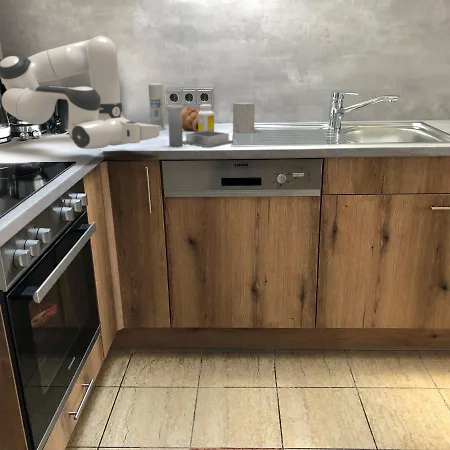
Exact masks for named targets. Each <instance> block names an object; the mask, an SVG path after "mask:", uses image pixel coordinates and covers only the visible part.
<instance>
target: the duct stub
mask: <svg viewBox="0 0 450 450" xmlns="http://www.w3.org/2000/svg"><path fill="white" fill-rule="evenodd" d="M166 108H167V113H168V114H167V115H168V116H167V118H168V119H167V120H168V121H167V122H168V138H169V139H168V140H169V143H168V144H169V147H171V148H181V146H182V147H183V146H184V144H183V141H184V140H183V129H182V109H183V105H182V104H179V103H178V104H177V103H175V104H167V106H166Z"/></svg>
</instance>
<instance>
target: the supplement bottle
mask: <svg viewBox="0 0 450 450" xmlns="http://www.w3.org/2000/svg"><path fill="white" fill-rule="evenodd" d="M199 108H200V109H199V110H200V111H199V112H198V132H201V131H214V132H215V112H214V111H212V104H210V103H209V104H208V103H207V104H204V103H203V104H200V105H199Z"/></svg>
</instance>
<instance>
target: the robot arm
mask: <svg viewBox="0 0 450 450" xmlns="http://www.w3.org/2000/svg"><path fill="white" fill-rule="evenodd" d="M118 65H119V63H118V48H117V46H116V44H115V42H114V41H113V40H112V39H111V38H109V37H108V36H104V35H98V36H93V38H91V39H87V40H83V41H77V42H74V43H73V42H72V43H69V44H66V45H63V46H58V47H55V48H51V49H50V48H49V49H47V50H43V51H40V52H37V53H35V54H33V55H30V56H29V57H23V56H21V55H17V54H16V55H15V54H14V55H8V56H6V57H4V58H2V59H1V60H0V78H1V81H2V82H3V85H4V87H5V89H6V91H5V92H4V93H3V94H2V97H1V106H2V107H3V109H4V110H5V111H6V112H7V113H8V114H9V115H11V116H13V117H14V118H16V119H18V120H20V121H23V122H25V123H28V124H31V125H42V124H45V123H46V122H47V121H49V120H50V119H51V118H52V116H53V114H54V112H55V107H56V104H57V101H58V100H66V101H67V104H68V120H67V121H68V124H67V125H68V126H67V127H68V136H69V138H70V139H71V140H72V141H73V143H74V144H75V146H76V147H78V148H79V149H84V150H95V149H104V148H106V147H108V146H112V147H116V146H120V145H127V144H139V143H141V142H142V141H147V140H152V139H155V138H159V136H160V131H163V130H162V126H160V125H151V123H150V124H149V123H143V122H135V121H131V120H129V119H127V118H125V117H124V115H123V113H122V112H123V103H122V102H121V88H120V77H119V66H118ZM86 72H89V73H88V75H89V81H90V86H84V85H83V86H66V85H52V84H50V85H48V84H47V85H46V84H45V85H40V84H39V83H45V82H51V81H52V82H53V81H55V80H57V81H58V80H60V79H65V78H67V77H71V76H75V75H79V74H83V73H86Z"/></svg>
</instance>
